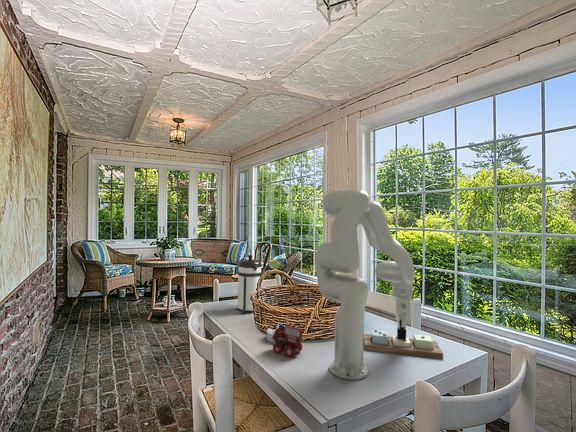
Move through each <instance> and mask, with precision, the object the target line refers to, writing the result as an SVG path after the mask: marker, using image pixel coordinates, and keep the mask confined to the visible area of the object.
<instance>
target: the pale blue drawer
mask: <svg viewBox="0 0 576 432" xmlns="http://www.w3.org/2000/svg"><path fill="white" fill-rule="evenodd" d="M371 335H372V342H371V343H375V344H384V345H389V344H388V336H389V333H388V331H386V330H376V329H372V330H371Z"/></svg>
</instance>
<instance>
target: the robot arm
mask: <svg viewBox="0 0 576 432" xmlns="http://www.w3.org/2000/svg"><path fill="white" fill-rule="evenodd" d="M322 208H323V211H325V213H326V214H327V215H329V216H330V217H333V218H334V219H333V221H332V223H331V225H330V241H325V242H323V243H320V245H319V246H318V247H317V249H316V251H315V255H314V263H315V273H316V279H317V286H318V290H319V292H320V295H322V296H323V297H324V298H326V299H328V300H331V301H335V302H338V303H340V306H339V308H338V309H337V310H336V312H335V316H334V353H333V354H334V355H333V357H334V360H332V361H331V362H330V363H329V365H328V366H329V372H330V373H331V374H332V375H334V376H335V377H338V378H339V379H344V380H352V381H357V380H361V379H364V378H366V377H367V376H368V375H369V368H368V367H367V365H365V363H364V355H365V354H364V351H365V350H364V338H365V314H366V313H365V311H366V306H367V299H368V295H369V286H368V284H367V283H366V281H365V280H364V279H363V278H361V277H358V276H357V275H351V273H355V272H357V271H358V270H359V268H360V262H361V260H360V259H361V258H360V249H359V243H358V242H359V241H358V227H359V225H362V228H363V231H364V234H365V236H366V239H367V241H368V245H370V246H371V248H373V249H375V250H376V251H378V252H380V253H381V254H384V255H386V256H387V257H388V258H390V259H391V260H392V261H387V260H385V261H381V262H379V263H377V265H376V267H375V270H374V272H375V275H376V277H377V278H378V279H380V280H381V281H384V282H390V283H392V284H391V285H392V286H391V287H392V288H391V289H392V290H391V293H392V297H394V299H395V300H394V302H395V303H394V307H395V308H394V309H395V312H394V313H395V319H396V322H397V328H396V331H397V333H396V335H397V338H398V339H403V340H406V337H407V324H408V325H411V323H412V321H411V319H412V318H411V317H412V316H411V314H412V313H411V299H412V298H413V286H414V284H413V282H414V281H415V280H414V279H415V277H416V271H415V266H414V263H413V259H412V257H411V255H410V253H409V252H408V251H407V249H406V248H405V247H404V246H403V245H402V244H401V243H400V241H399V242H398V240H396V239H395V238H394V237H393V235H392V233H391V229H390V227H389V224H388V220H387V218H386V214H385V212H384V210H383V207H382V205H381V203H379V202H377V201H374V200H370V197H369V194H368V193H367V191H364V190H361V189H347V190H334V191H330V192H327V193H326V194H325V195H324V197H323V199H322Z"/></svg>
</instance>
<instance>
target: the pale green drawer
mask: <svg viewBox="0 0 576 432" xmlns="http://www.w3.org/2000/svg"><path fill="white" fill-rule="evenodd" d="M412 339H413V342H414V345H415V346H414V348H420V349H429V350H431V349H433V339H432V338H431V336H430V335H424V334H415V333H414V334H413V337H412Z"/></svg>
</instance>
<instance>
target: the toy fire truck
mask: <svg viewBox="0 0 576 432" xmlns="http://www.w3.org/2000/svg"><path fill="white" fill-rule="evenodd" d="M279 332H280V333H279ZM302 337H303V329H302V328H301V327H299V328H297V327H292V326H285V327H284V325H283V324H280V325H279V328H277V329H276V331H275V333H274V335H273V338H272V340H273V341H272V342H271V343H272V349H273V352H274V354H276V355H281V354H282V353H283V352H284V355H285V357H286V358H288V359H292V358H293V357H295V355H296V354H298V353H300V352H301V351H302V350H303V344H302Z"/></svg>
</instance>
